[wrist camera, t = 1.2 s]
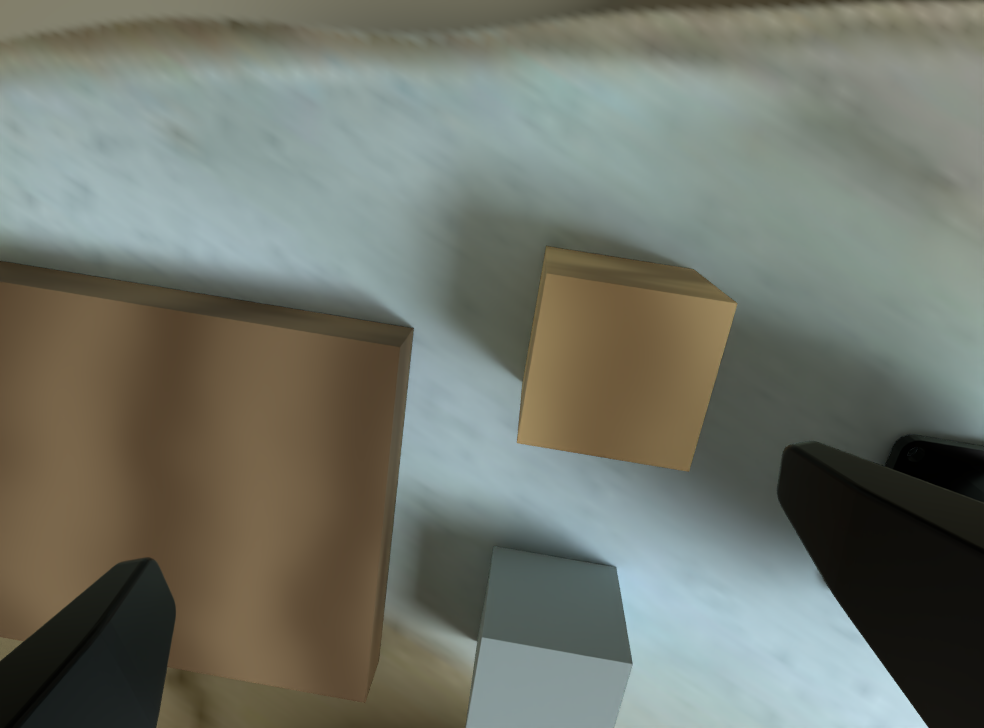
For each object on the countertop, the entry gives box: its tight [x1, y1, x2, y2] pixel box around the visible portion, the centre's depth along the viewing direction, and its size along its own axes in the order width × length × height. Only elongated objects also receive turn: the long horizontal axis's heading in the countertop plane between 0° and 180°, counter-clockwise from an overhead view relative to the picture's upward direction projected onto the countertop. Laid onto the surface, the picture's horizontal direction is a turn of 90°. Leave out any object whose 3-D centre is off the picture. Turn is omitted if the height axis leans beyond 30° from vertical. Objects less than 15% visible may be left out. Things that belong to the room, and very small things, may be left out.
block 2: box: [465, 546, 633, 728], centre depth 21 cm, size 4×4×4 cm
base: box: [0, 261, 414, 703], centre depth 21 cm, size 14×14×2 cm
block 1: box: [517, 246, 737, 472], centre depth 17 cm, size 4×4×4 cm
